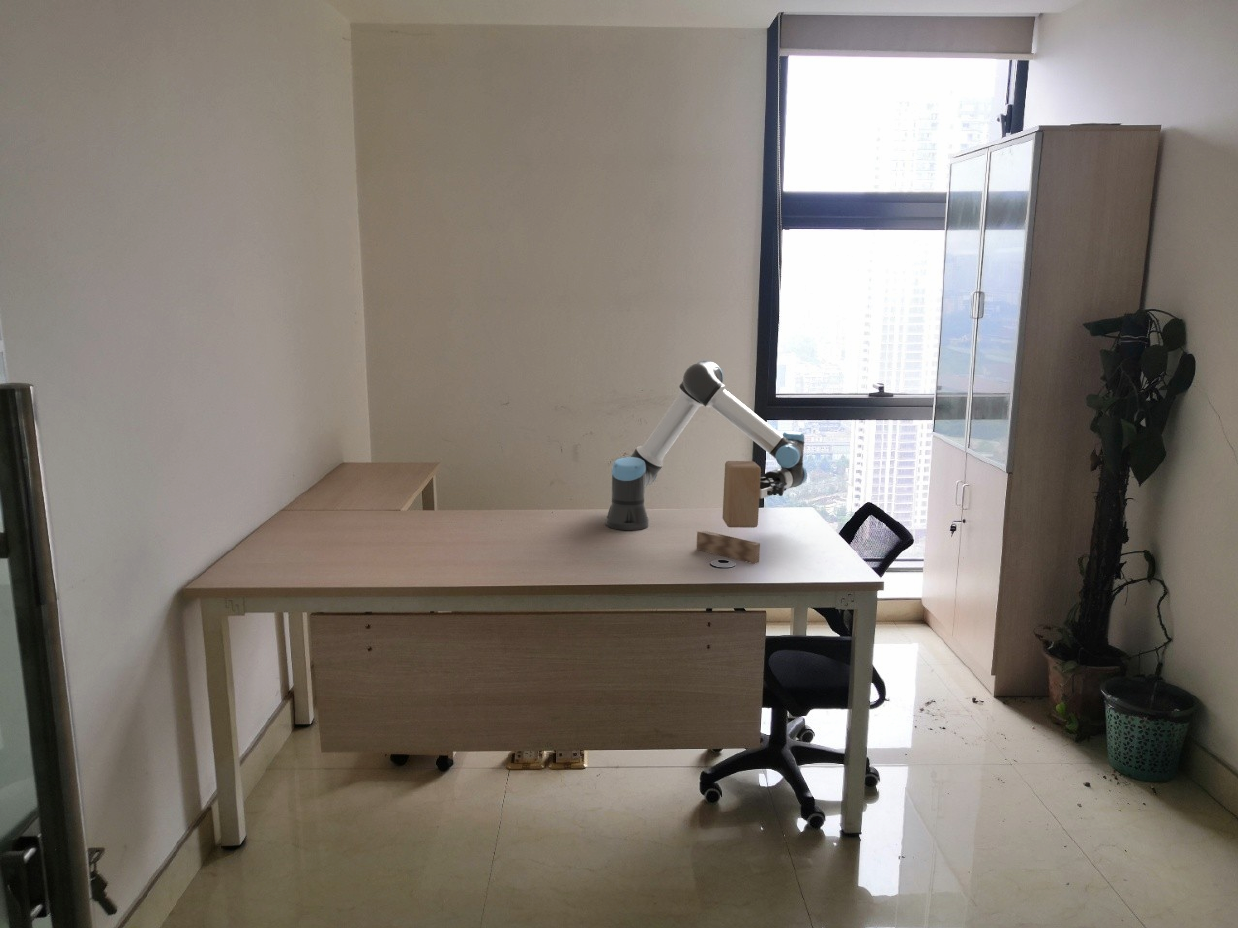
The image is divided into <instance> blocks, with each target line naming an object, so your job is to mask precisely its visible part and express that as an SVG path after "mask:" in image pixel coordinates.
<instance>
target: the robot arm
mask: <svg viewBox="0 0 1238 928" xmlns="http://www.w3.org/2000/svg"><path fill="white" fill-rule="evenodd" d="M723 373H724V372H723V371H722V369H721V367H720V366H719V365H718V364H717V363H715V362H713V361H710V360H701V361H698V362H697V363H694V364H692V365H690V366H689V367H688V368H687V369H686V370H685V371H684V373H683V377H682V381H681V383H680V384H679V386H678V390H679V393H678V394H677V396H676V397H675V399H674V401H673V402H672V403H671V405H670V406H669V408H668V409H667V411H666V412H665V414H664V415H663V416H662V418H661V419H660V421H659V422H658V424H657V426H655V428H654V429H653V431H652V432H651V434H650V435H649V436H648V438H647V440H646V441H645V442H644V444H643V445H639V446H637V447H636V448H635V449H634V451H633V452H632V454H631V455H630V456H627V457H622V458H621V457H620V458H617V459H616V460H614V461H613V463H612V468H611V504H610V507H609V509H608V512H607V516H606V518H605V525H606V526H607V527H609V528H611V529H614V530H618V531H619V530H620V531H637V530H639V531H640V530H643V529H646V528H649V525H650V524H649V521H650V520H649V519H650V518H649V517H648V513H647V510H646V509H647V508H646V506H645V497H646V496H645V494H646V490H645V489H646V487H648V486H650V485H651V484H652V483H653V482H654V481H655V480H656V479H657V476H658V474H659V472H660V470H661V469H662V468H663V466H664V458H665V456H666V455H667V453H668V452H669V451H670V449H671V447H673V445H674V444H675V442H676V441H677V439H678V438H679V436H680V435H681V434H682V432H683V431H684V430H685V428H686V426H687V425H688V424H689V422H690V421H691V420H692V418H693V416H695V414H696V412H697V411H698V410H699V408H700V407H705V408H712V409H713V410H714V411H715V412H717V413H718V415H720V416H721V417H723V418H724V419H725V420H726V421H728V422H729V423H730V424H731V425H732V426H735V427H736V428H737V429H738V430H739V431H741V432H742V433H743V434H744V435H745V436H747V437H748V438H749V439H750V440H751V441H753V442H754V443H755V444H757V445H758V446H759V447H760V448H762V449H763V450H764V451H766V452H767V453H768V454H770V456H771V457H772V458H774V459H775V461H776V462H777V465H779V466H780V468H776V469H773V470H770V471H767V472H765V473H764V474H763V475H762V476H761V478H760V495H759V499H764V498H768V497H772V496H777V495H778V496H779V497H782V496H783V495H784V493H785V491H787V490H788V489H792V488H797V487H799V486H801V485H802V484H804V483H805V482H806V480H807V478H808V472H807V469H806V468H805V466H804V464H803V463H804V462H803V460H804V449H805V444H806V443H805V442H806V441H805V434H804V433H803V432H802V431H789V430H788V431H785V432H783V433H780V432H779V431H778V430H777V429H775V427H773V426H771V424H769V423H768V422H766V421H765V420H764V419H763V418H761V416H759V415H758V414H757V413H755V412H754V411H753V410H752V409H750V408H749V407H748V406H746V405H745V404H744V403H743V402H741V401H740V400H739V399H738V398H737V397H735V396H734V395H733V394H731V392H729V391H727V389H726V385H725V384H724V383H723V381H724V375H723Z"/></svg>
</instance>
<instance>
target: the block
mask: <svg viewBox="0 0 1238 928" xmlns="http://www.w3.org/2000/svg"><path fill="white" fill-rule="evenodd" d="M761 472H762V469H761V466H759V465H758V464H757V463H756V462H755V461H753V460H750V461H749V460H728V461H726V462H725V463H724V477H723V478H724V481H723V496H722V497H723V501H722V503H723V504H722V520H723V522H724V523H725V525H726V526H727V528H742V529H743V528H745V529H746V528H747V529H749V528H750V529H751V528H753V529H754V528H757V527H758V525H759V511H760V508H759V507H760V498H759V497H760V490H761V489H760V478H761V477H762V476H761V475H762V473H761Z"/></svg>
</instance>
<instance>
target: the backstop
mask: <svg viewBox="0 0 1238 928" xmlns="http://www.w3.org/2000/svg"><path fill="white" fill-rule="evenodd" d="M696 534H697V535H696V550H699V551H702V552H707V553H710V554H714V555H718V556H721V557H726V558H730V559H734V560H738V561H741V562H745V561H747V563H749V562H751V564H753V563H754V565H756V564H758V563H759V562H760V554H761V550H760V549H761V543H759V542H756V541H751V540H747V539H742V538H737V537H734V536H730V535H725V534H722V533H721V534H720V533H715V532H711V531H708V530H702V529H701V530H698V531H696ZM755 563H756V564H755Z"/></svg>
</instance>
